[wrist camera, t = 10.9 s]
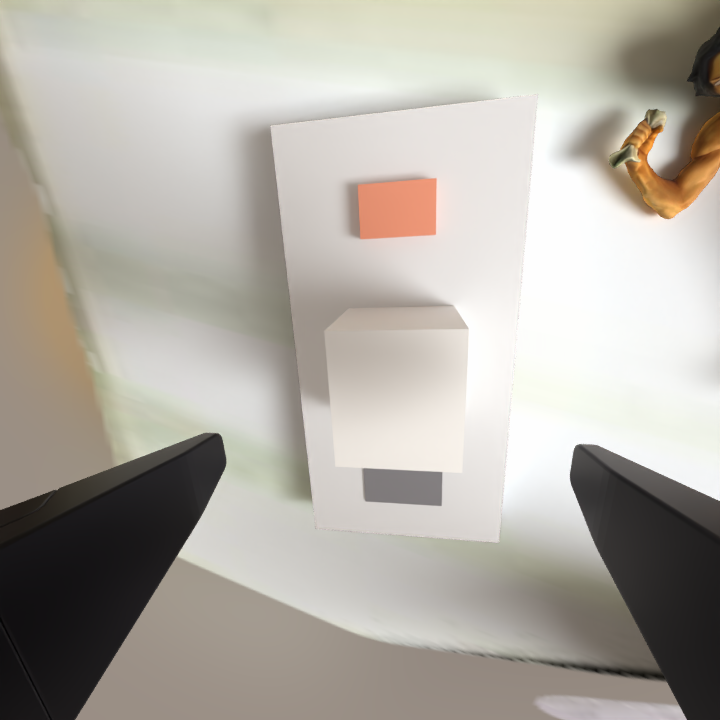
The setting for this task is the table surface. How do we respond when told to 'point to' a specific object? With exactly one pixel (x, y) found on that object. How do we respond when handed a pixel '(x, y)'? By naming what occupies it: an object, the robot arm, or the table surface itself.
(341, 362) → the block
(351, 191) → the power strip
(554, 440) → the table surface
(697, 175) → the action figure
